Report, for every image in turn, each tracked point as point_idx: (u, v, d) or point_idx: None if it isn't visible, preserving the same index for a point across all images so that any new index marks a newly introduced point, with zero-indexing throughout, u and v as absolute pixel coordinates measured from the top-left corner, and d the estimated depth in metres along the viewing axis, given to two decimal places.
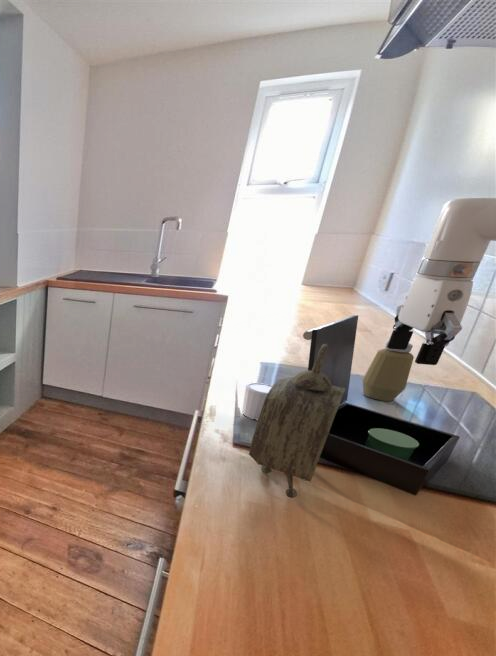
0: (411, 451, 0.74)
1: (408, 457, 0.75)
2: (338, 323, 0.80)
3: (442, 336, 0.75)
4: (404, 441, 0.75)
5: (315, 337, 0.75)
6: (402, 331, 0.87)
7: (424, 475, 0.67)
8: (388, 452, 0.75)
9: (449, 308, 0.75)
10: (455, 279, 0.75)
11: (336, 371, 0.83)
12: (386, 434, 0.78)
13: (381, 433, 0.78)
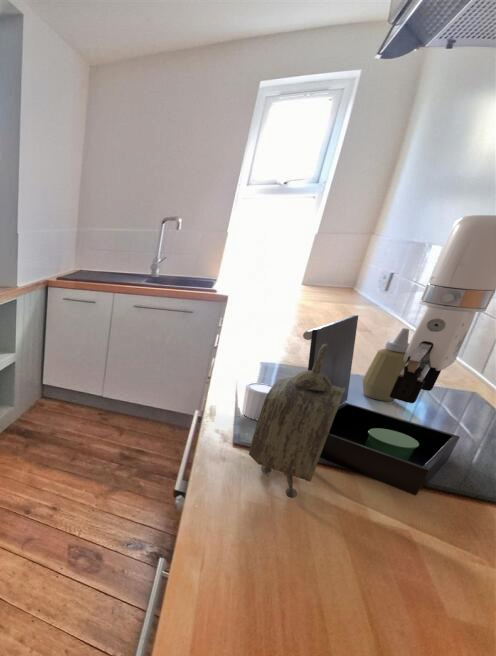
0: (411, 451, 0.74)
1: (408, 457, 0.75)
2: (338, 323, 0.80)
3: (405, 368, 0.68)
4: (404, 441, 0.75)
5: (315, 337, 0.75)
6: None
7: (424, 475, 0.67)
8: (388, 452, 0.75)
9: (427, 339, 0.66)
10: (442, 307, 0.65)
11: (336, 371, 0.83)
12: (386, 434, 0.78)
13: (381, 433, 0.78)
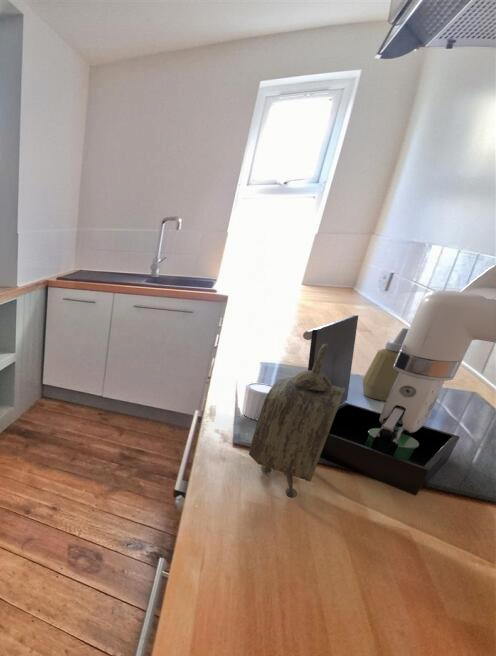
0: (411, 451, 0.74)
1: (408, 457, 0.75)
2: (338, 323, 0.80)
3: (380, 431, 0.73)
4: (404, 441, 0.75)
5: (315, 337, 0.75)
6: None
7: (424, 475, 0.67)
8: None
9: (399, 405, 0.71)
10: (413, 375, 0.70)
11: (336, 371, 0.83)
12: None
13: None
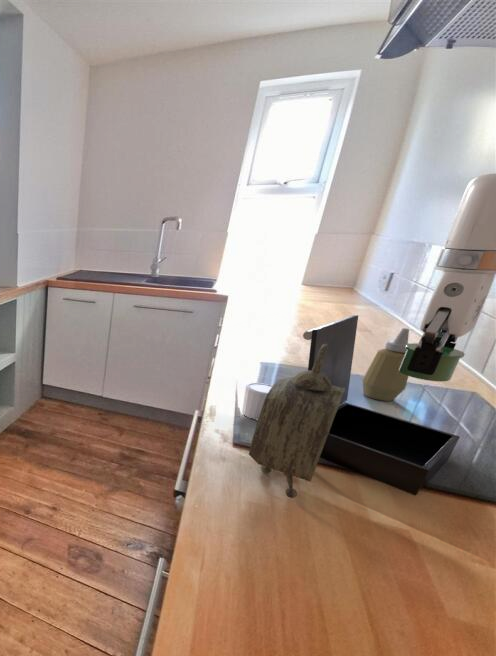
0: (456, 361, 0.68)
1: (452, 368, 0.68)
2: (338, 323, 0.80)
3: (422, 338, 0.66)
4: (447, 352, 0.69)
5: (315, 337, 0.75)
6: None
7: (424, 475, 0.67)
8: None
9: (444, 307, 0.64)
10: (459, 271, 0.63)
11: (336, 371, 0.83)
12: None
13: None
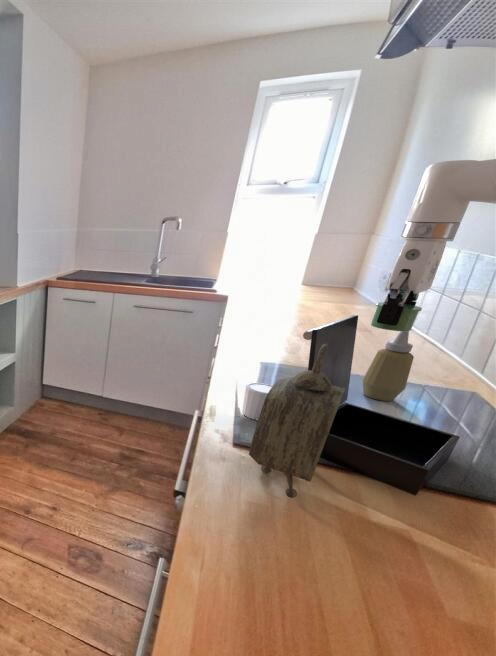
0: (415, 314, 0.84)
1: (412, 320, 0.84)
2: (338, 323, 0.80)
3: (388, 294, 0.82)
4: (409, 307, 0.85)
5: (315, 337, 0.75)
6: (404, 300, 0.88)
7: (424, 475, 0.67)
8: None
9: (405, 268, 0.80)
10: (417, 239, 0.79)
11: (336, 371, 0.83)
12: None
13: None
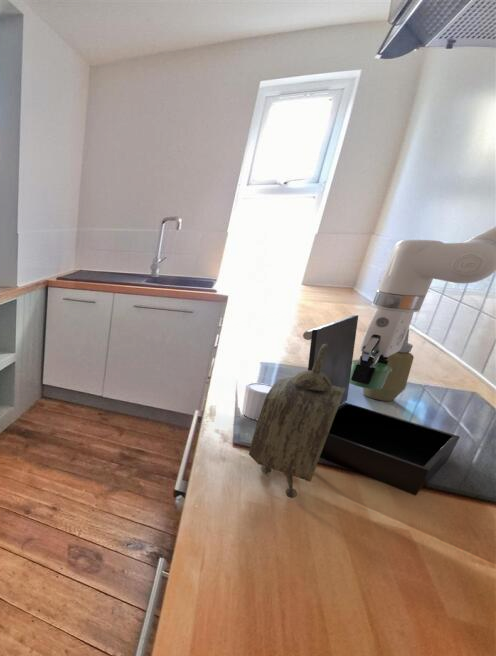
0: (386, 374, 0.91)
1: (383, 379, 0.91)
2: (338, 323, 0.80)
3: (360, 357, 0.89)
4: (380, 367, 0.92)
5: (315, 337, 0.75)
6: (377, 358, 0.95)
7: (424, 475, 0.67)
8: None
9: (376, 334, 0.87)
10: (387, 308, 0.86)
11: (336, 371, 0.83)
12: None
13: None
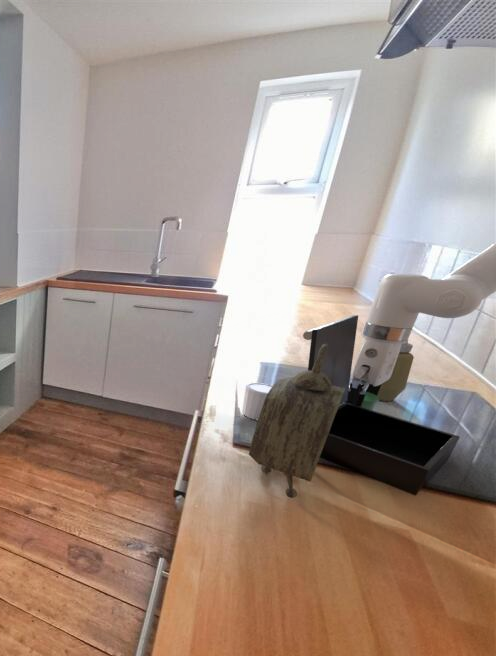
0: (373, 404, 0.94)
1: (371, 409, 0.94)
2: (338, 323, 0.80)
3: (350, 384, 0.91)
4: (368, 397, 0.95)
5: (315, 337, 0.75)
6: None
7: (424, 475, 0.67)
8: None
9: (366, 363, 0.90)
10: (375, 340, 0.89)
11: (336, 371, 0.83)
12: None
13: None
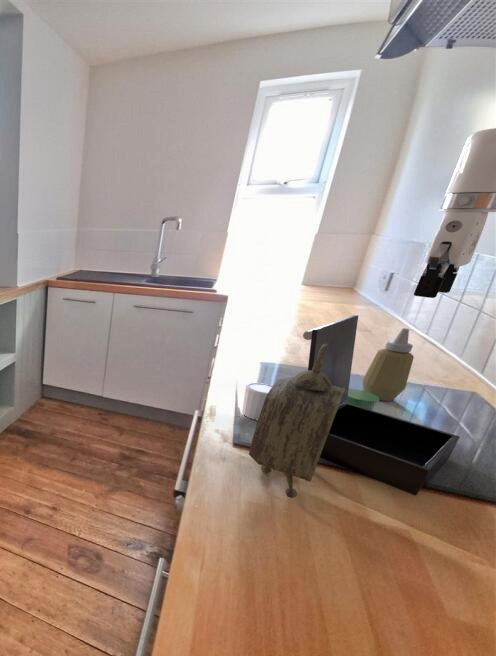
0: (373, 404, 0.94)
1: (371, 409, 0.94)
2: (338, 323, 0.80)
3: (427, 265, 0.79)
4: (368, 397, 0.95)
5: (315, 337, 0.75)
6: (444, 272, 0.86)
7: (424, 475, 0.67)
8: None
9: (447, 239, 0.78)
10: (459, 210, 0.77)
11: (336, 371, 0.83)
12: (354, 392, 0.97)
13: (350, 392, 0.97)
